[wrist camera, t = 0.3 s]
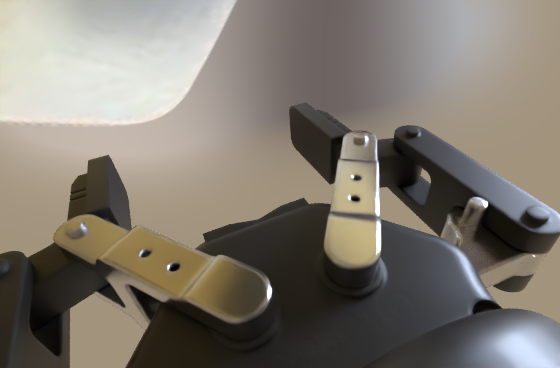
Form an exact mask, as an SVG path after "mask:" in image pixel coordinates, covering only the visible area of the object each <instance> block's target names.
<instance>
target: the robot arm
mask: <svg viewBox="0 0 560 368" xmlns="http://www.w3.org/2000/svg"><path fill="white" fill-rule="evenodd" d="M289 112H290V113H289V114H290V129H291V140H292V143H293V145H294V147H295V148H296V150H297V151H299V153H300V154H301V155H302V156H303V157H304V158H305V159H306V160H307V161H308V162H309V163H310V164H311V165H312V166H313V167H314V168H315V169H316V170H317V171H318V173H320V175H321V176H322V177H323V178H324V179H325V180H326V181H327V182H328V183H329V184H333V183H335V184H334V190H333V196H332V202H331V204H324V203H314V204H308V203H307V201H306V200H305V199H304V198H302V199H299V200H296V201H293V202H290V203H288V204H285V205H282V206H280V207H278V208H277V209H275V210H273V211H272V212H270V213H268V214H267V215H265V216H264V217H262V218H260V219H258V220H253V221H247V222H241V223H235V224H229V225H226V226H224V227H221V228H218V229H215V230H212V231H210V232H207V233H204V234H203V236H204V239H205V242H204V243H202V244H201V245H200V246H198V247H197V248H196V249H194V248H191V247H189V246H187V245H184V244H182V243H180V242H177V241H175V240H173V239H170V238H168V237H166V236H163V235H161V234H159V233H156V232H154V231H152V230H149V229H147V228H145V227H142V226H139V225H137V226H135V227H134V228H133V229H132V228H131V219H130V210H129V200H128V196H127V192H126V190H125V187H124V185H123V183H122V181H121V178H120V176H119V174H118V172H117V170H116V168H115V166H114V164H113V162H112V160H111V158H110V157H109V155H106V156H103V157H99V158H95V159H91V160H89V161H88V171H87V174H84V175H80V176H78V177H77V178H76V180H75V181H74V183H73V184H72V186H71V195H70V203H69V211H68V219H67V221H66V222H65V223H63V224H62V225H61V226H60V227H59V228H58V229H57V230H56V232H55V233H54V236H53V240H54V243H53V244H51V245H50V246H48V247H46V248H45V249H43V250H41V251H39V252H37V253H35V254H33V255H31V256H30V257H28V258H27V257H26V256H25V255H24V254H23V253H22V252H19V251H10V252H6V253H2V254H0V368H70V308H71V307H73V306H74V305H76V304H77V303H79V302H81V301H82V300H84V299H85V298H87V297H88V296H90V295H92V294H94V295H96V296H97V297H99V298H101V299H102V300H104V301H106V302H107V303H109V304H111V305H112V306H114V307H116V308H117V309H119V310H121V311H122V312H124V313H125V314H127V315H129V316H130V317H131V318H132V319H134V320H135V321H136V322H137V323H138V324H139V325H140V326H141V327H142V328H143V329H144V330H145V333H144V334H143V336H142V338H141V340H140V342H139V344H138V346H137V347H136V349H135V351H134V353H133V355H132V357H131V359H130V361H129V362H128V364H127V366H126V368H560V324H559V323H557V322H556V321H554V320H552V319H551V318H548V317H546V316H544V315H542V314H539V313H536V312H533V311H528V310H522V309H502V308H501V307H500V306H499V305H498V304H497V302H496V301H495V300H494V299H493V298H492V296H491V295H490V293H489V292H488V290H487V289H486V288H488V287H490V286H494V287H496V288H498V289H500V290H503V291H507V292H519V291H521V290H523V289H524V288H525V287H526V285H527V284H528V282H529V281H530V279H531V278H532V276H533V275H534V273H535V272H536V270H537V269H538V267H539V266H540V264H541V263H542V261H543V260H544V258H545V257H546V256H547V254H548V253H549V251H550V249H551V248H552V247H553V245H554V244H555V242H556V240H557V239H558V237H559V236H560V214H559V213H557V212H556V211H555V210H553V209H552V208H550V207H548V206H547V205H545V204H543V203H542V202H540V201H539V200H537V199H536V198H534V197H532V196H531V195H529V194H528V193H526V192H524V191H523V190H521V189H520V188H518V187H516V186H515V185H513V184H512V183H510V182H509V181H507V180H505V179H504V178H502V177H501V176H499V175H497V174H496V173H494V172H493V171H491V170H489V169H488V168H486V167H485V166H483V165H482V164H480V163H478V162H477V161H475V160H474V159H472V158H470V157H469V156H467V155H466V154H464V153H462V152H461V151H459V150H458V149H456V148H454V147H453V146H451V145H450V144H448V143H447V142H445V141H443V140H442V139H440V138H439V137H437V136H435V135H434V134H432V133H431V132H429V131H427V130H426V129H424V128H422V127H418V126H410V125H407V126H401V127H399V128H397V129H396V130H395V134H394V138H391V139H381V140H377V137H376V136H375V135H374V134H372V133H370V132H367V131H351V130H350V129H348V128H347V127H346V126H345V125H343V124H342V123H341V122H339V121H338V120H336V119H335V118H333V117H332V116H331V115H329V114H328V113H326V112H323V111H320V110H315V109H314V108H312V107H311V106H310V105H308V104H307V103H303V104H298V105H295V106H291V107H290V110H289ZM422 168H423V169H424V170H426V171H427V172H428V174H429V175H430V178H431V184H430V183H429V182H428V181H426V180H425V179H424V178H423V177H421V176H420V175H421V171H422ZM381 187H388V188H389V189H390V190H391V191H392V192H393V193H394V194H395V195H396V196H397V197H398V198H399V199H400V200H401V201H402V202H403V203H404V204H405V205H407V206H408V207H409V208H410V209H411V210H412V211H413V212H414V213H415V214H416V215H417V216H418V217H419V218H420V219H421V220H422V221H423V222H425V223H426V224H427V225H428V226H429V227H430V228H431V229H432V230H433V231H434V232H435V233H436V234H437V235H438V236H439V237H437V236H434V235H431V234H427V233H424V232H421V231H418V230H414V229H411V228H408V227H405V226H401V225H398V224H395V223H392V222H388V221H385V220H382V219H380V216H379V188H381Z"/></svg>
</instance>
